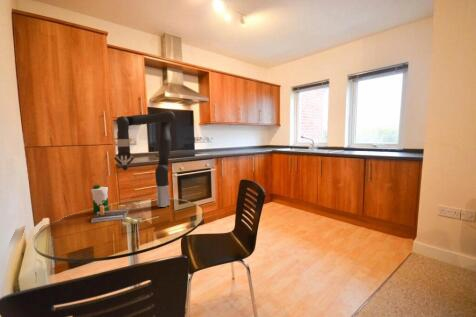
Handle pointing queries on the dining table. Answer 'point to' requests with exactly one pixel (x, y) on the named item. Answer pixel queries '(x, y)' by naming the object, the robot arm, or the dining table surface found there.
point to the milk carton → (99, 198)
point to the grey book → (110, 215)
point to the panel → (111, 218)
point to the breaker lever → (102, 211)
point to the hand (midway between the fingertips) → (125, 170)
